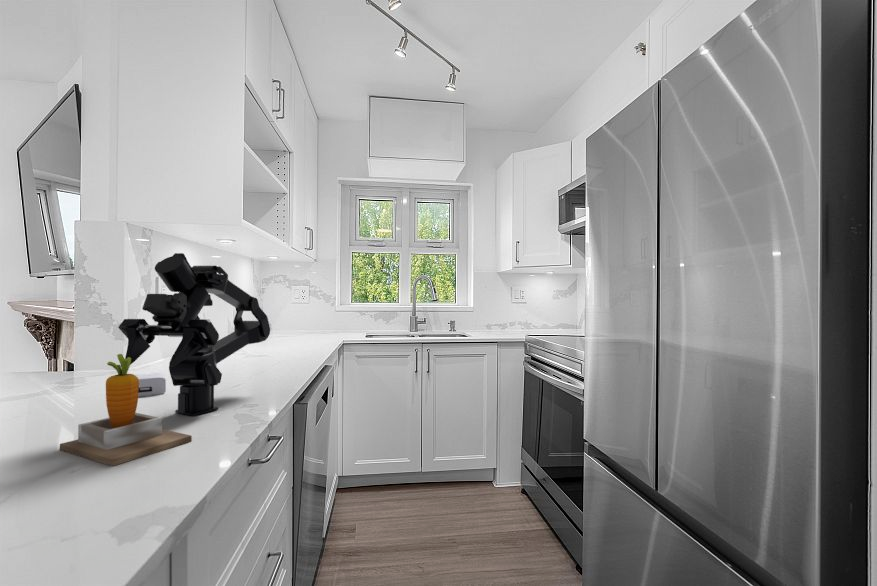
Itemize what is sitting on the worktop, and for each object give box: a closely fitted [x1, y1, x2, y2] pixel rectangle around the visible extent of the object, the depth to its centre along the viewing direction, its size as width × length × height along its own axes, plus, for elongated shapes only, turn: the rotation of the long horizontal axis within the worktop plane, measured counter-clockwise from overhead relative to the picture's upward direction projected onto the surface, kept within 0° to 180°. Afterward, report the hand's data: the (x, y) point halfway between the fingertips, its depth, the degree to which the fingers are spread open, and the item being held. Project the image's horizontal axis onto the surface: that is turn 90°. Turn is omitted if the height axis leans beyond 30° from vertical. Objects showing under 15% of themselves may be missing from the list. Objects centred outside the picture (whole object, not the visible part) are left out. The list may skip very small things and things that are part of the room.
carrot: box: [105, 353, 139, 429], centre depth 78 cm, size 5×5×15 cm
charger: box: [134, 372, 167, 397], centre depth 121 cm, size 5×9×15 cm
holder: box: [59, 412, 193, 467], centre depth 77 cm, size 13×16×4 cm
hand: (148, 364), depth 84 cm, fingers open, 9 cm apart
